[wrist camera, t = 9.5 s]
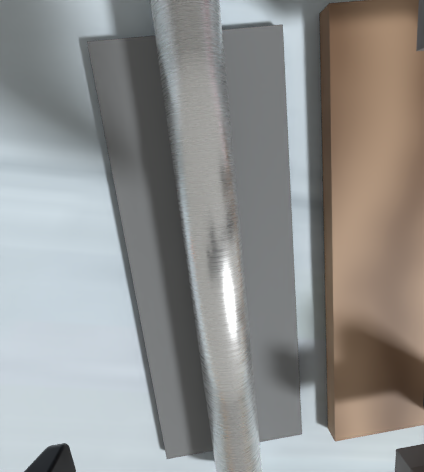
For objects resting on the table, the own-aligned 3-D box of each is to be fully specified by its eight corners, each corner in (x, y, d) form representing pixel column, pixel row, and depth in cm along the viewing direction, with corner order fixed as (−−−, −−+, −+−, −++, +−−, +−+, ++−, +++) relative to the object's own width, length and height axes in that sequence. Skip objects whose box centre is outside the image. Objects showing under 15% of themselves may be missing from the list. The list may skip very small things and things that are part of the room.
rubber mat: (279, 28, 15) (282, 24, 14) (299, 427, 21) (302, 434, 20) (90, 45, 14) (87, 41, 14) (167, 451, 20) (166, 459, 20)
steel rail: (150, -15, 13) (139, -59, 11) (213, -21, 13) (218, -66, 11) (217, 473, 20) (221, 521, 18) (258, 467, 20) (268, 514, 18)
